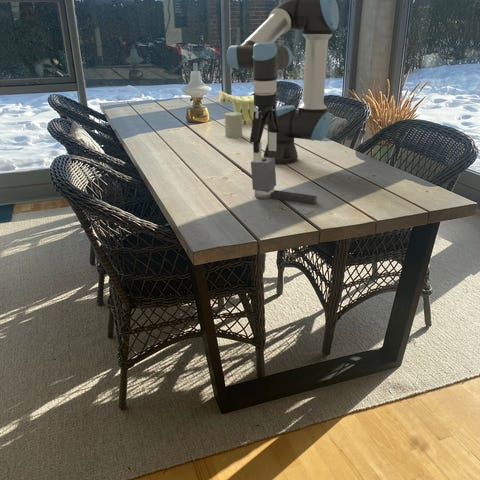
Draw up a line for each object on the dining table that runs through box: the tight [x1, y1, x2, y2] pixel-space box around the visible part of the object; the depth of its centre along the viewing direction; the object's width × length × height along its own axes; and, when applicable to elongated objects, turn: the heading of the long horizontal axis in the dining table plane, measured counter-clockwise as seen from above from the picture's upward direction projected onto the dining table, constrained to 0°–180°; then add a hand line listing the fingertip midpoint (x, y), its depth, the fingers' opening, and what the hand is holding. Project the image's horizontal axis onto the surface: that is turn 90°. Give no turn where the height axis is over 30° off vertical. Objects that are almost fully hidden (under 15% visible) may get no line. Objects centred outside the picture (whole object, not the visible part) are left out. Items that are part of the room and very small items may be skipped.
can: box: [224, 111, 243, 139], centre depth 256 cm, size 9×9×12 cm
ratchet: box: [254, 187, 318, 206], centre depth 172 cm, size 7×22×6 cm, turn 65°
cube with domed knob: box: [250, 157, 277, 191], centre depth 173 cm, size 6×6×10 cm
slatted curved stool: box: [218, 89, 256, 125], centre depth 288 cm, size 30×16×18 cm, turn 100°
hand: (265, 155), depth 170 cm, fingers open, 13 cm apart
